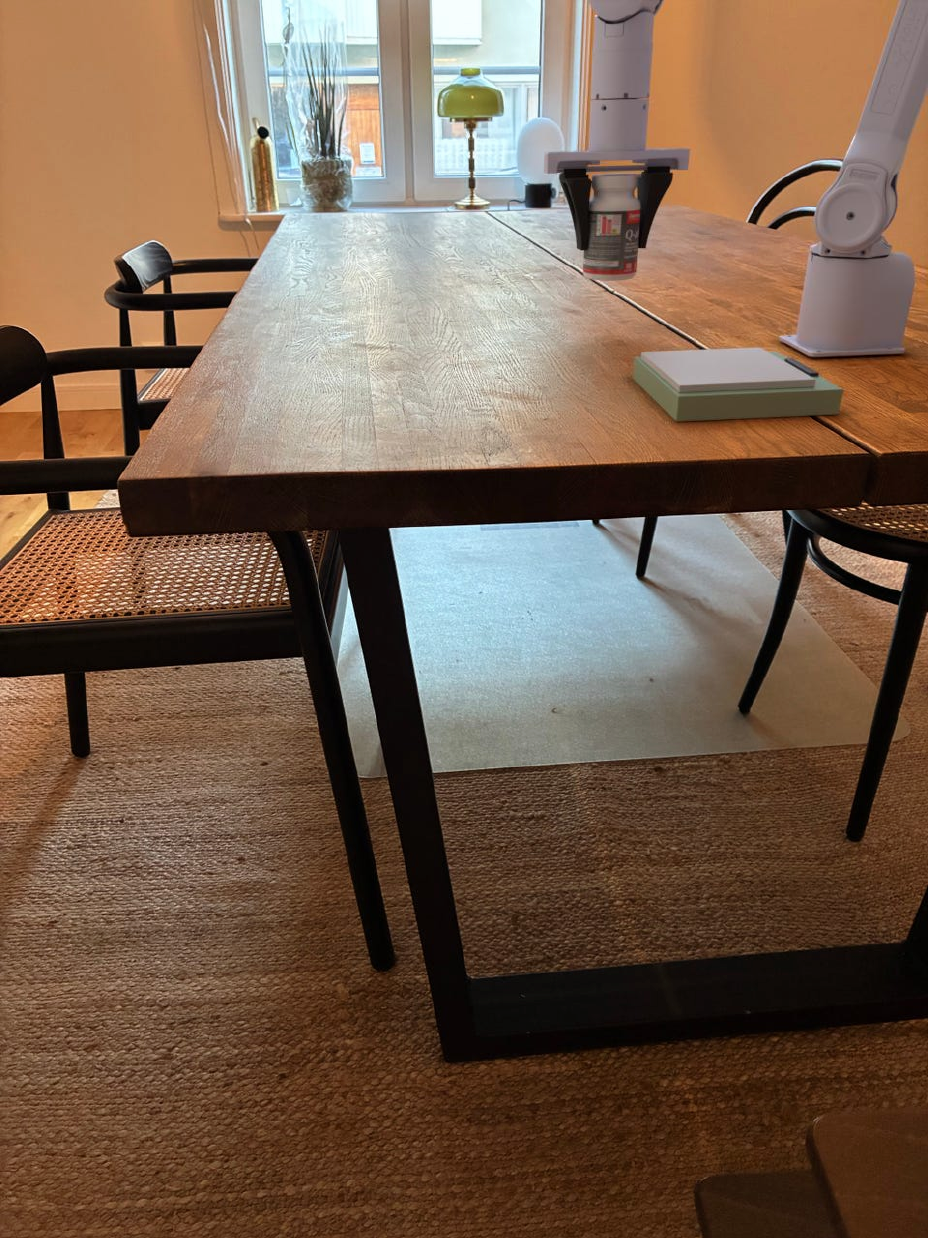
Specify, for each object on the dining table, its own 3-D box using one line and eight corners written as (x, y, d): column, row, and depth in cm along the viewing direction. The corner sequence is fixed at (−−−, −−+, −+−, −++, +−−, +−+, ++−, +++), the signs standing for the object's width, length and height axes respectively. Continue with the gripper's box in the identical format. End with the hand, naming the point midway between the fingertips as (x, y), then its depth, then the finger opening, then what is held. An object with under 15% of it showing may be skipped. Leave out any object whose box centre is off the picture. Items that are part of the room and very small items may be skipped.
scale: (773, 373, 81) (777, 344, 80) (838, 414, 69) (845, 381, 68) (632, 379, 80) (634, 349, 79) (676, 421, 69) (679, 388, 67)
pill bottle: (635, 281, 93) (642, 175, 88) (580, 281, 94) (584, 176, 89) (637, 273, 98) (644, 172, 93) (585, 273, 99) (589, 173, 94)
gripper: (679, 98, 92) (667, 241, 98) (540, 102, 91) (537, 245, 97) (701, 97, 85) (687, 249, 92) (552, 100, 84) (548, 254, 91)
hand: (611, 248), depth 94 cm, fingers closed on pill bottle, 5 cm apart
